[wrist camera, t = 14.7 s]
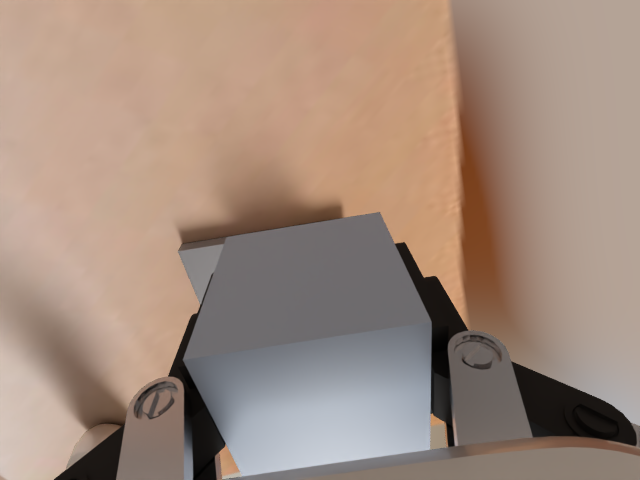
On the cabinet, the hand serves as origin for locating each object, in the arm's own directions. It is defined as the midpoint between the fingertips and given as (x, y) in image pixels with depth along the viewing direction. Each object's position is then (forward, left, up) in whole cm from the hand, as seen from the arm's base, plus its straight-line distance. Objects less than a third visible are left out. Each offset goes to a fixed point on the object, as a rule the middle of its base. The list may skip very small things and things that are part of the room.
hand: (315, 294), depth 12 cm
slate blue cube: (0, 0, -1) cm, 1 cm away
